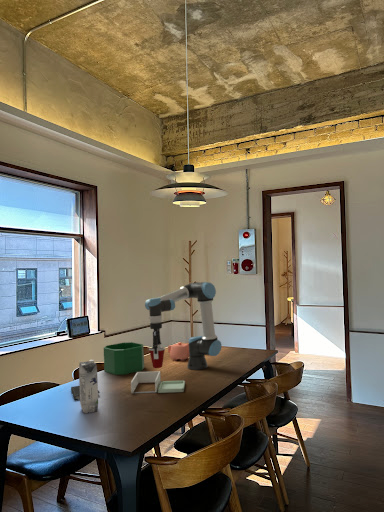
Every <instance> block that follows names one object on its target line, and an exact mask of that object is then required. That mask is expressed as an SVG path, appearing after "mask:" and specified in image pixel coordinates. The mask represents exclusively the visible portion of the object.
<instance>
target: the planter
mask: <svg viewBox="0 0 384 512" xmlns="http://www.w3.org/2000/svg"><path fill="white" fill-rule="evenodd" d="M144 368H145V353H144V344H142V343H137V342H132V341H131V342H130V341H128V342H125V341H124V342H119V343H118V342H117V343H114V344H108V345H105V346H104V347H103V369H104V372H106V373H108V374H110V375H114V376H116V375H117V376H119V375H122V376H123V375H129V374H133V373H137V372H142V371H143V370H144Z"/></svg>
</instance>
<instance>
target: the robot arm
mask: <svg viewBox="0 0 384 512" xmlns="http://www.w3.org/2000/svg"><path fill="white" fill-rule="evenodd" d="M216 294H217V291H216V287H215V285H214V284H213V283H212V282H207V281H203V282H202V281H201V282H200V281H199V282H198V281H195V282H192V283H188V284H186V285H183V286H181V287H180V288H179V289H177V290H174V291H172V292H169V293H165V294H164V295H161V296H158V297H152V298H149V299H146V300H145V302H144V306H145V309H146V310H147V311H148V312H149V317H148V319H149V329H151V330H153V331H152V349H154V359H158V348H161V345H162V341H161V331H160V330H161V329H162V328H163V322H162V321H163V320H162V313H163V312H170V311H173V310H174V309H175V308H176V303H177V302H179V301H181V300H187V299H197V303H199V306H200V307H199V308H200V317H201V325H202V335H198V336H191V337H189V339H188V344H189V357H188V361H187V369H188V370H195V371H196V370H197V371H198V370H204V369H207V368H208V363H207V359H206V356H210V357H216V356H218V355H219V354H220V353H221V351H222V342H221V341H220V340H219V339H218V335H216V331H215V324H214V314H213V313H214V311H213V301H214V298H215V296H216Z"/></svg>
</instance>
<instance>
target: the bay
mask: <svg viewBox="0 0 384 512" xmlns="http://www.w3.org/2000/svg"><path fill="white" fill-rule="evenodd" d="M161 379H162V378H161V371H160V370H159V371H158V370H157V371H137V372H135V375H134V376H133V378H132V379H131V381H130V391H131V392H130V394H132V395H133V394H152V393H153V394H157V393H158V388H159V385H160V383H161ZM144 383H145V384H148V383H154V389H155V390H154V391H135V390H136V388H137V386H138V385H139V384H144Z"/></svg>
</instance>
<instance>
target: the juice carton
mask: <svg viewBox="0 0 384 512" xmlns="http://www.w3.org/2000/svg"><path fill="white" fill-rule="evenodd" d="M78 365H79V366H78V375H79V376H78V377H79V378H78V380H79V381H78V382H79V383H78V386H80V399H79V403H80V407H81V410H82V413H83V414H89V413H93V412H94V413H95V412H97V411H98V410H99V409H98V408H99V393H98V391H99V386H98V385H99V384H98V383H99V381H98V380H99V379H98V367H97V363H96V362H95V359H89V360H88V361H82V362H79V363H78ZM88 412H89V413H88Z"/></svg>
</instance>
